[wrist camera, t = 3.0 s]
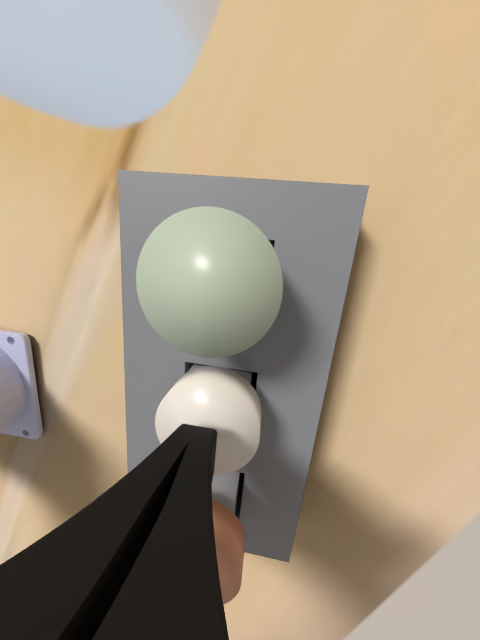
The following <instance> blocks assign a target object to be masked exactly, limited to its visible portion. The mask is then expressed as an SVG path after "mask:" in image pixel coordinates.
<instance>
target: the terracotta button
mask: <svg viewBox="0 0 480 640" xmlns="http://www.w3.org/2000/svg"><path fill="white" fill-rule="evenodd" d="M239 477H240V472H236V471H234V472H231V473H228V474H223V475H213V480H212V506H213V522H214V534H215V544H216V553H217V562H218V570H219V578H220V586H221V593H222V600H223V604H226V603H228V602H229V601H231V600H232V599H233V598H234V597H235V596H236V595H237V593H238V592H239V589H240V586H241V579H242V568H243V558H244V547H245V532H244V529H243V526H242V524H241V522H240V521H239V519H238V518H237V517H236V516H235V509H236V501H237V493H238V485H239Z"/></svg>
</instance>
